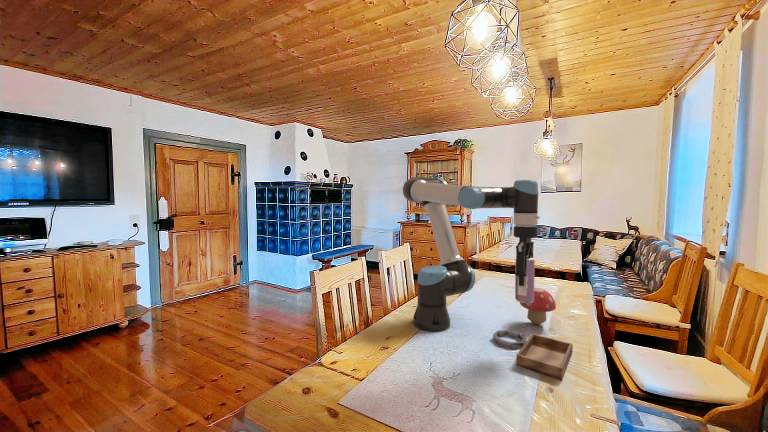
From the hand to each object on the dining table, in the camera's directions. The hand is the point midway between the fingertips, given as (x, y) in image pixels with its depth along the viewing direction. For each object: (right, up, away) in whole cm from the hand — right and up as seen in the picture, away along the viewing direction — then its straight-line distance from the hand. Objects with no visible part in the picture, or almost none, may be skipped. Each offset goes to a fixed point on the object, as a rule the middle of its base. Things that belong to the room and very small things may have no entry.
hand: (524, 292), depth 109 cm
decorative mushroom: (+15, -18, +22) cm, 32 cm away
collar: (-3, -19, +6) cm, 20 cm away
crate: (+4, -20, -7) cm, 21 cm away
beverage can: (0, -3, 0) cm, 3 cm away
